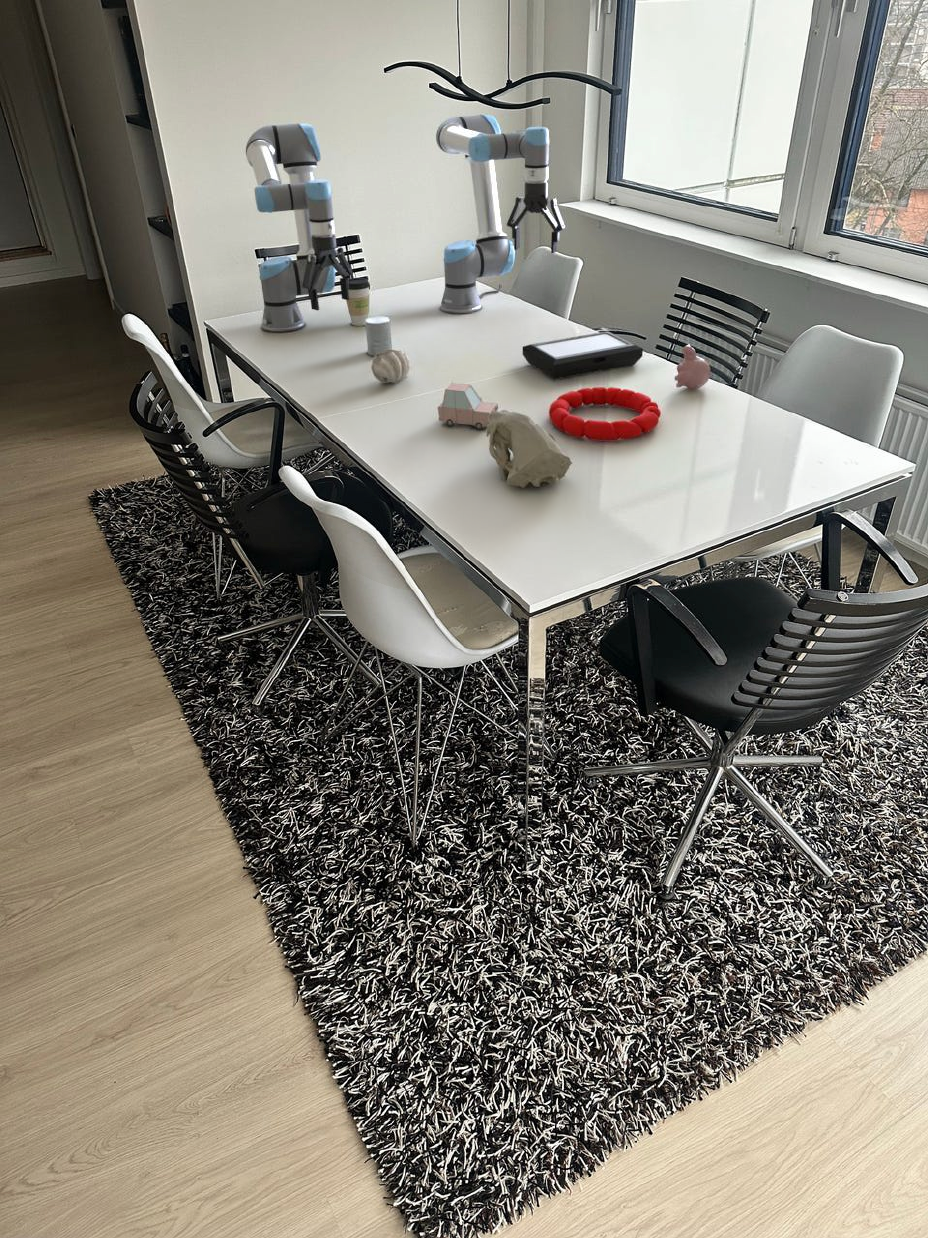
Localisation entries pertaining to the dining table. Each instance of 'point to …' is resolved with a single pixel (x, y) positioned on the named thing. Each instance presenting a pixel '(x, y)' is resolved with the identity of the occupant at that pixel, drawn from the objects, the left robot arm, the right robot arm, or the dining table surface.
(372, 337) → the canister
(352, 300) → the coffee cup
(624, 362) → the electronic device
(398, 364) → the seashell
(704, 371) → the figurine
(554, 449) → the animal skull
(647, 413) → the decorative ring
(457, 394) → the toy car
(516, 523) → the dining table surface
